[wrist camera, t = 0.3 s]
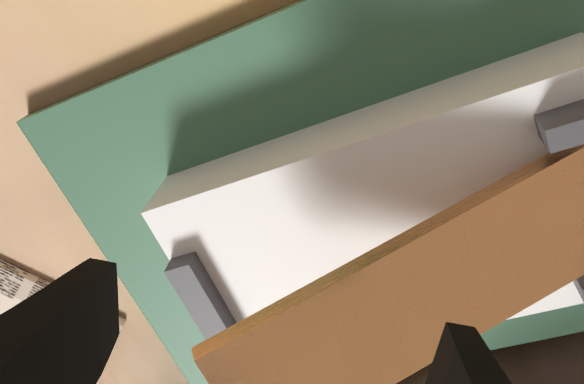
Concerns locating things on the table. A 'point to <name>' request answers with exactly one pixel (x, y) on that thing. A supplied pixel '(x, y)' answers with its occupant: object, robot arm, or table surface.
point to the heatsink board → (257, 107)
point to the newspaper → (21, 287)
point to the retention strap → (417, 287)
